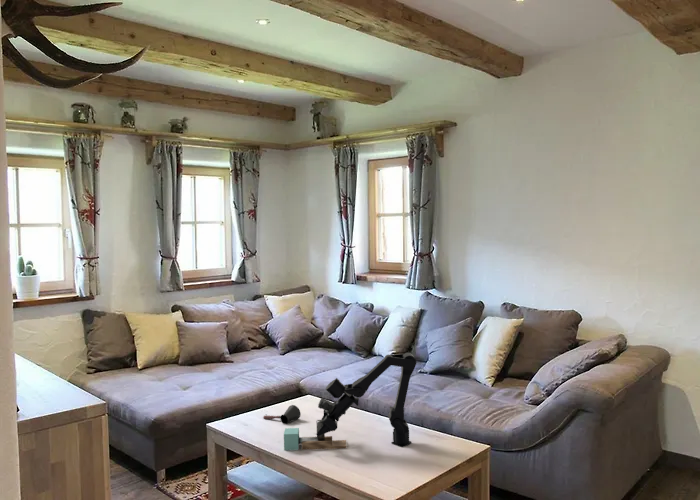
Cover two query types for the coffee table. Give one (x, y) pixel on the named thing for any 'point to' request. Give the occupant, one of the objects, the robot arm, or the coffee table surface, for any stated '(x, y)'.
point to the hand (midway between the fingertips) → (317, 431)
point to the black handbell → (287, 415)
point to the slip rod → (318, 438)
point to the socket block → (291, 438)
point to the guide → (324, 444)
